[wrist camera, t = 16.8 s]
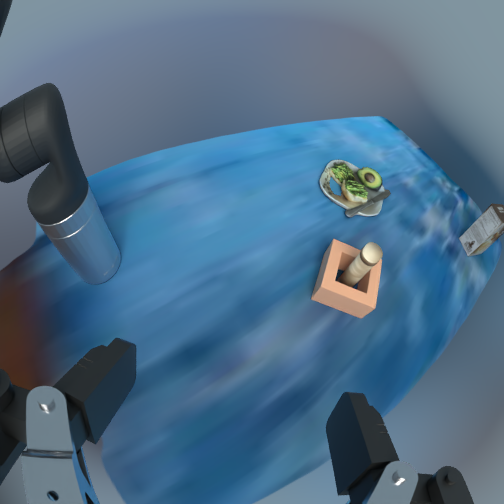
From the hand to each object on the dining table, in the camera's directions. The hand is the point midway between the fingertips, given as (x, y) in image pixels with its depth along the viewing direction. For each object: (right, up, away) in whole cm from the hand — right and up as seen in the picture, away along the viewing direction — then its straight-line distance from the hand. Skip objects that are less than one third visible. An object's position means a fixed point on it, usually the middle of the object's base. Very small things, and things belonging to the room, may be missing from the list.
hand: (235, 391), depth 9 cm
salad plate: (+25, +20, +53) cm, 62 cm away
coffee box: (+64, +7, +50) cm, 81 cm away
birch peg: (+17, -1, +38) cm, 42 cm away
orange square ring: (+17, -1, +38) cm, 42 cm away
